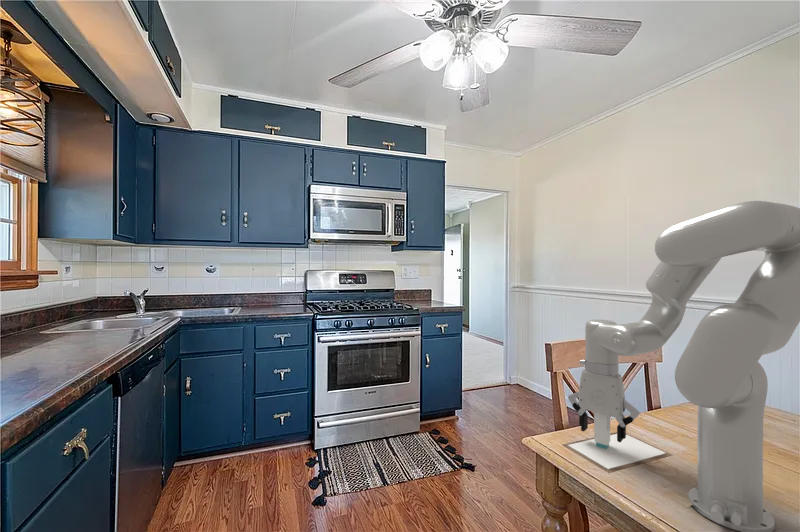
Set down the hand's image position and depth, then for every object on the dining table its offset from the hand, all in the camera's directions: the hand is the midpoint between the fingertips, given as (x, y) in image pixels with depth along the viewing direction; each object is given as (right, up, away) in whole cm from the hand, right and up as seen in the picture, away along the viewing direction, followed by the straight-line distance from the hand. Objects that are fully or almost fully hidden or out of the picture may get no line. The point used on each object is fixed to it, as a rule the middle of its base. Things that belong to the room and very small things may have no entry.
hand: (601, 434), depth 95 cm
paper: (+3, -3, -1) cm, 5 cm away
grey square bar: (0, -3, +1) cm, 3 cm away
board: (+3, -4, -1) cm, 5 cm away
